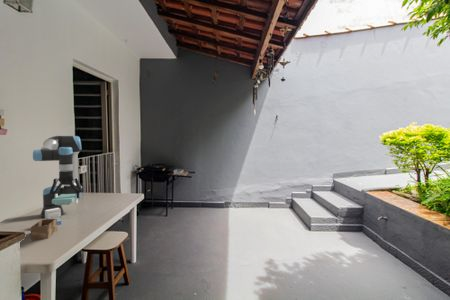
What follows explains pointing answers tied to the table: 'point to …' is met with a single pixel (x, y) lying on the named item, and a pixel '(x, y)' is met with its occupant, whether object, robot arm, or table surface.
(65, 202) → the lid
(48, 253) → the table surface
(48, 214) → the ink box
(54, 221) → the crate
